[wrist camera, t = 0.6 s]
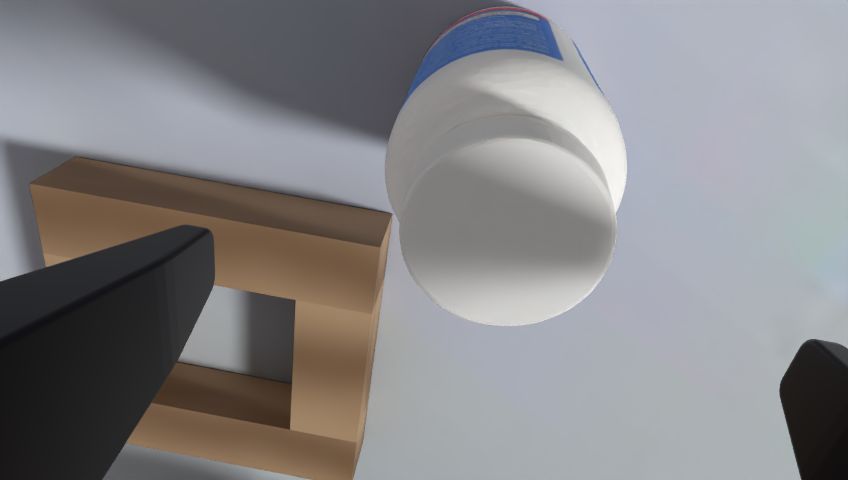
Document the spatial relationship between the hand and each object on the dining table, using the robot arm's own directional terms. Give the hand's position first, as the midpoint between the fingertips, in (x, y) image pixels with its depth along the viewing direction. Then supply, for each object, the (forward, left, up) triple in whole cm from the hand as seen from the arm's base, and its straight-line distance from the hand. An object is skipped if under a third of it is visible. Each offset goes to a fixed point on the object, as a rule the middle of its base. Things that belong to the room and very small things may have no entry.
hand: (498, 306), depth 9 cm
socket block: (-11, +9, -12) cm, 18 cm away
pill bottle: (0, 0, -12) cm, 12 cm away
